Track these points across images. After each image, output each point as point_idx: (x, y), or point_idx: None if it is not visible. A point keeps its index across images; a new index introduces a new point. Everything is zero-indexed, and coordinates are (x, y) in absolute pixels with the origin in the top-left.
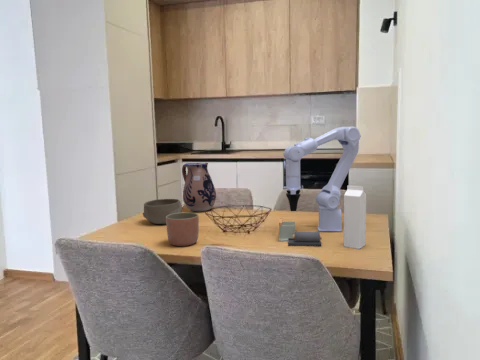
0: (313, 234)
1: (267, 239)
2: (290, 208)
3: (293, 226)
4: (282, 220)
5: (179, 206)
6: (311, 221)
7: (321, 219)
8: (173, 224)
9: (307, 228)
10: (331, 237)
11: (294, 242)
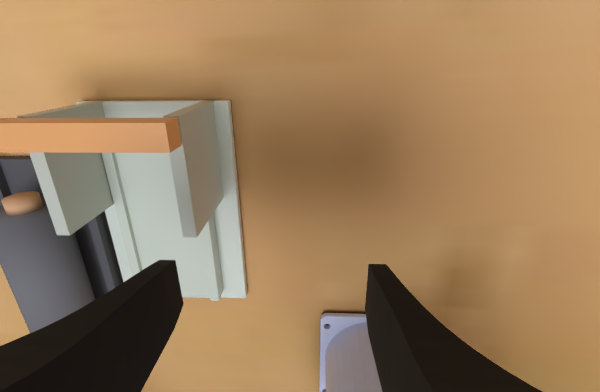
0: (21, 312)
1: (98, 12)
2: (137, 273)
3: (57, 224)
4: (76, 151)
5: None
6: (584, 293)
7: (345, 380)
8: None
9: (400, 264)
10: (214, 351)
11: (2, 197)
